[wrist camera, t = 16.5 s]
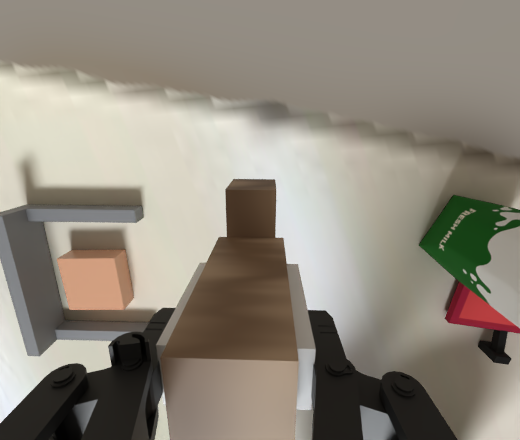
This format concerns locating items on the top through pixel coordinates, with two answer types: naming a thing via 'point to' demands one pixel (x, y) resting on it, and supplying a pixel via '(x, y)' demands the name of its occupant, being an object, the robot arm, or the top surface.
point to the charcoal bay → (51, 273)
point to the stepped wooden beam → (236, 333)
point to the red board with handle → (481, 321)
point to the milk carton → (480, 250)
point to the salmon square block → (96, 279)
